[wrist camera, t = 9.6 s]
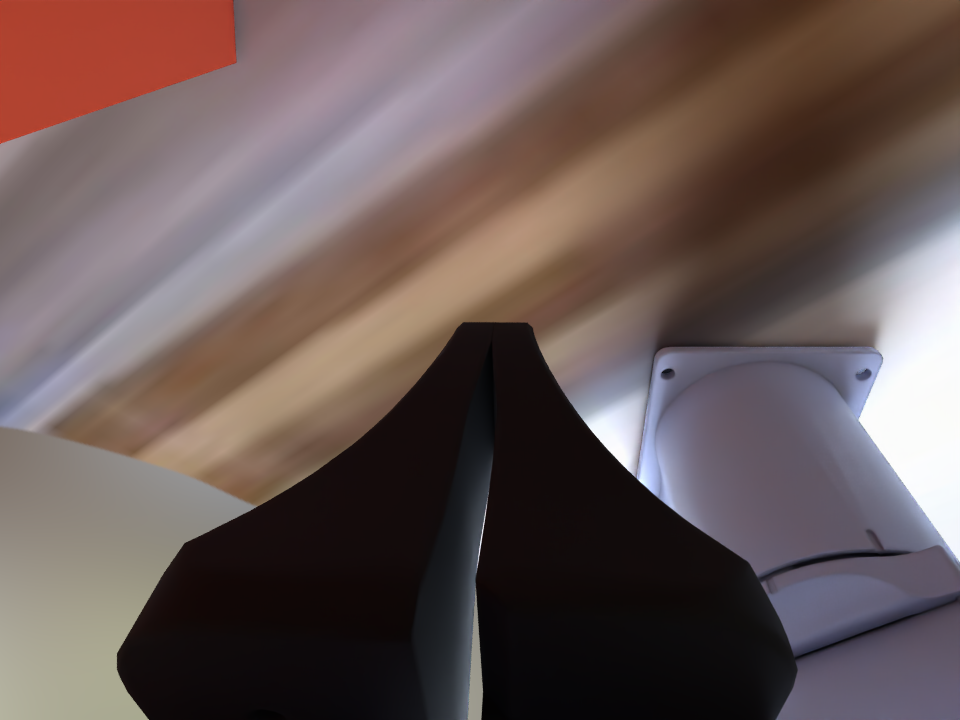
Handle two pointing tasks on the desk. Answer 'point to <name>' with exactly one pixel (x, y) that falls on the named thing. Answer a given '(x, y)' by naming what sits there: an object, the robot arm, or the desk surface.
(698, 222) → the desk surface
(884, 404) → the desk surface
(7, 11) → the file binder
